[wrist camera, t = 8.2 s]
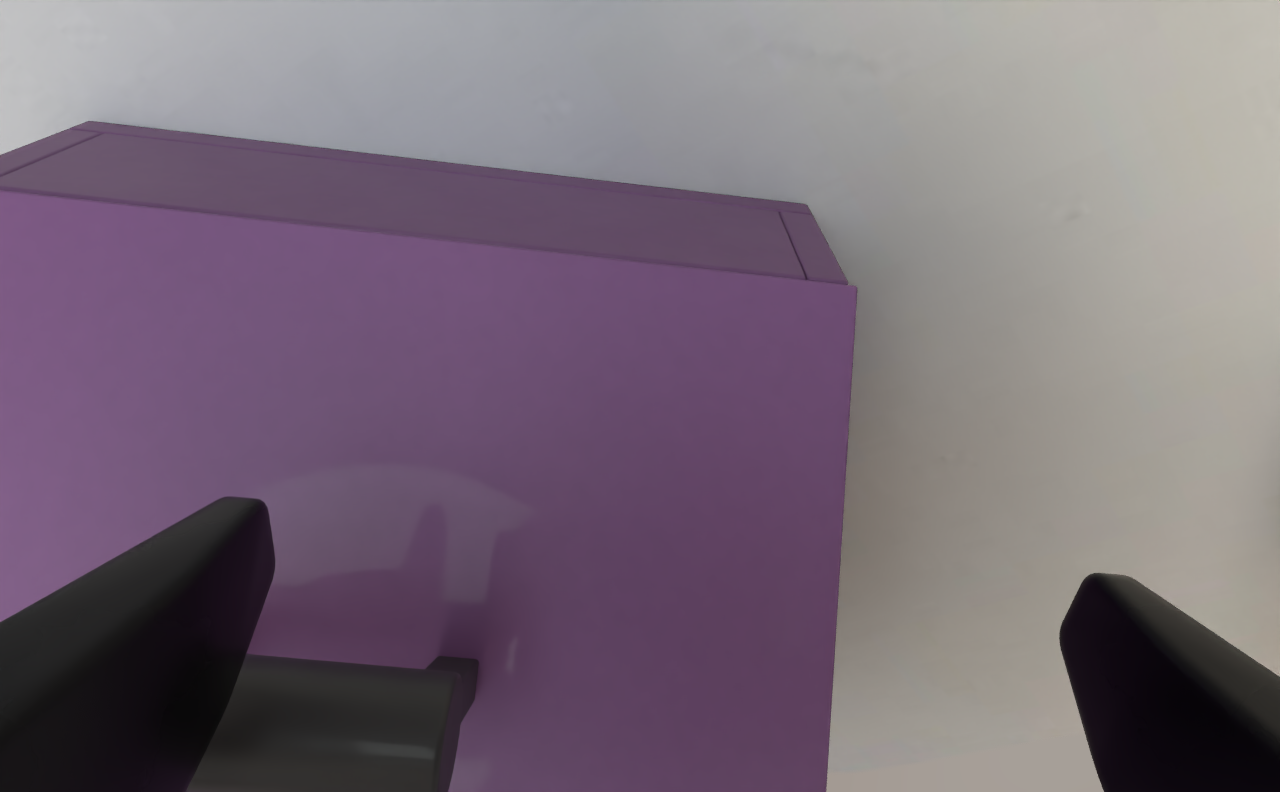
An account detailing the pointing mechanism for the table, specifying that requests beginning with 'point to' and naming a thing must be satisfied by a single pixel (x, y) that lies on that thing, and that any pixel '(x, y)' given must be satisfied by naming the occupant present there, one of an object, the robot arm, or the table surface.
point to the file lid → (447, 491)
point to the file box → (423, 199)
